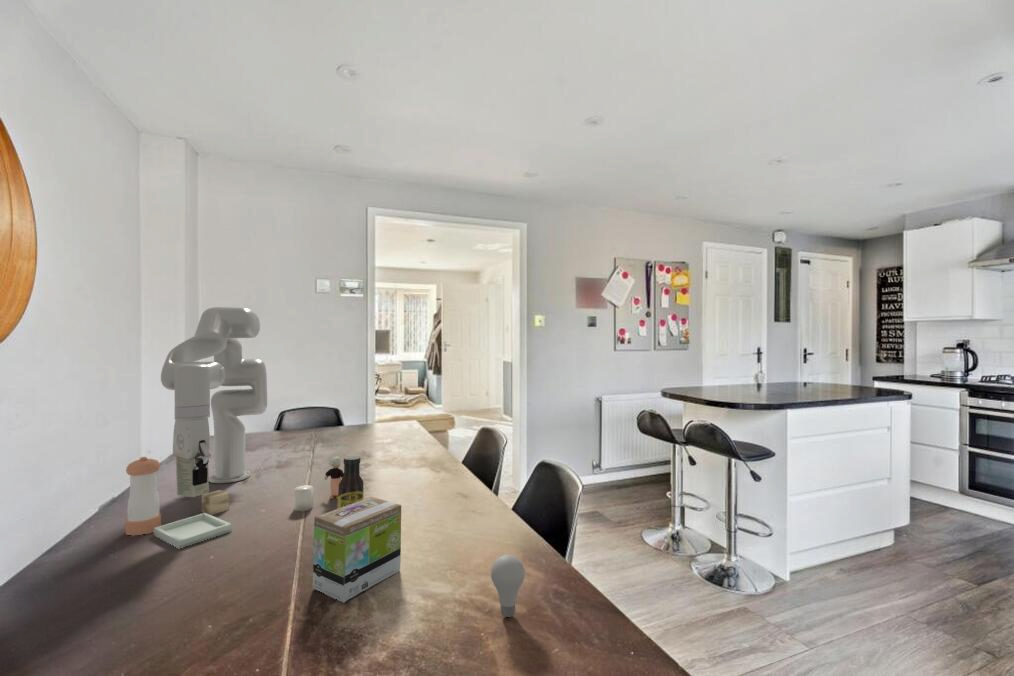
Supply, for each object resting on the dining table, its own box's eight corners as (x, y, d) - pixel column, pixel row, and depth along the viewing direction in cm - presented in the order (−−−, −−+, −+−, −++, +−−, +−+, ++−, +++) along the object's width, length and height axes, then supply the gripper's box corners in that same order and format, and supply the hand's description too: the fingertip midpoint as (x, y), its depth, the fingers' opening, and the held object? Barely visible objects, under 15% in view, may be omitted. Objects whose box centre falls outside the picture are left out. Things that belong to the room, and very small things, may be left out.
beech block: (201, 511, 134) (201, 494, 134) (220, 506, 138) (220, 489, 138) (210, 515, 131) (210, 497, 131) (228, 509, 136) (228, 492, 136)
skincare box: (209, 492, 120) (209, 445, 120) (193, 498, 116) (193, 449, 116) (191, 489, 122) (191, 443, 122) (175, 495, 118) (175, 447, 118)
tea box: (345, 605, 88) (344, 527, 88) (311, 589, 93) (311, 516, 93) (402, 571, 100) (402, 502, 100) (370, 559, 106) (370, 494, 106)
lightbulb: (490, 607, 87) (490, 549, 87) (522, 606, 87) (522, 548, 87) (491, 628, 81) (491, 565, 81) (526, 626, 81) (526, 564, 81)
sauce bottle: (338, 543, 114) (338, 462, 113) (335, 533, 119) (334, 456, 119) (365, 537, 117) (365, 459, 117) (361, 528, 122) (361, 453, 122)
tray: (153, 535, 118) (153, 527, 118) (205, 519, 128) (205, 512, 128) (178, 549, 110) (178, 541, 110) (231, 531, 120) (231, 523, 120)
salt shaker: (167, 527, 123) (166, 455, 123) (135, 538, 116) (135, 462, 116) (151, 522, 126) (150, 452, 126) (119, 533, 119) (119, 458, 119)
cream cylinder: (290, 509, 136) (290, 488, 136) (306, 504, 140) (306, 484, 140) (301, 512, 133) (301, 491, 133) (316, 507, 137) (316, 487, 137)
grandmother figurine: (350, 495, 147) (349, 455, 147) (344, 499, 144) (344, 458, 144) (326, 494, 148) (326, 455, 148) (320, 498, 144) (320, 458, 144)
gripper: (160, 411, 120) (160, 479, 121) (192, 417, 111) (192, 491, 111) (192, 407, 127) (192, 472, 127) (225, 413, 117) (225, 483, 117)
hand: (192, 481), depth 119 cm, fingers closed on skincare box, 6 cm apart
